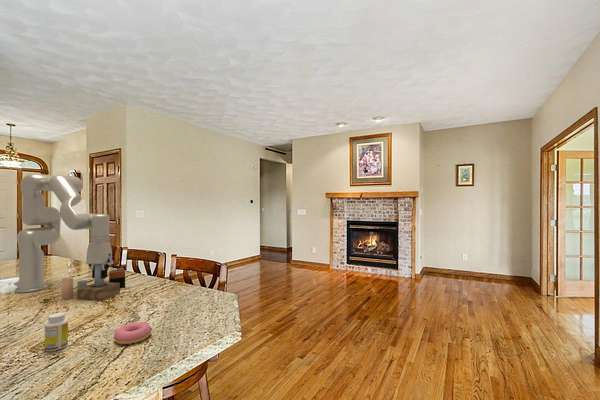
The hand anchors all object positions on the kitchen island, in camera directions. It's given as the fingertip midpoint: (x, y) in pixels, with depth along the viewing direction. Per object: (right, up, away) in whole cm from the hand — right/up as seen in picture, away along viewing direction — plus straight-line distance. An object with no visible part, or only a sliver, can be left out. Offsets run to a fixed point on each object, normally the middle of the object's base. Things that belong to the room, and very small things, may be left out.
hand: (99, 277), depth 141 cm
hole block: (0, -9, 0) cm, 9 cm away
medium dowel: (-13, -9, -4) cm, 16 cm away
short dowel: (-12, -9, +4) cm, 15 cm away
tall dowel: (0, -6, 0) cm, 6 cm away
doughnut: (+41, -9, -43) cm, 60 cm away
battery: (-1, -9, +14) cm, 17 cm away
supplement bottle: (+21, -9, -50) cm, 55 cm away
